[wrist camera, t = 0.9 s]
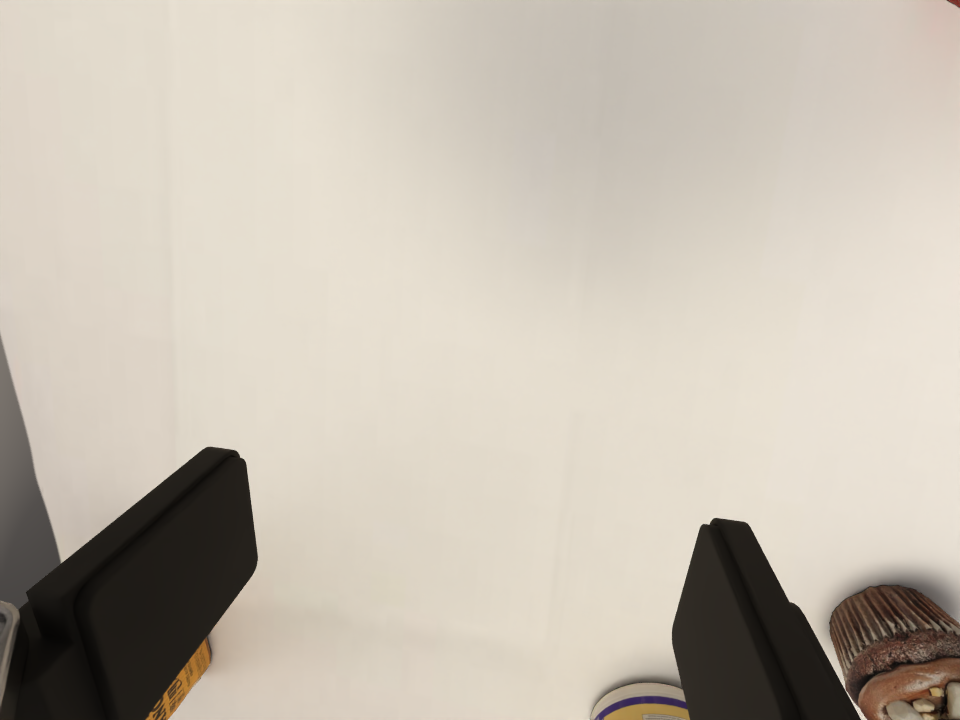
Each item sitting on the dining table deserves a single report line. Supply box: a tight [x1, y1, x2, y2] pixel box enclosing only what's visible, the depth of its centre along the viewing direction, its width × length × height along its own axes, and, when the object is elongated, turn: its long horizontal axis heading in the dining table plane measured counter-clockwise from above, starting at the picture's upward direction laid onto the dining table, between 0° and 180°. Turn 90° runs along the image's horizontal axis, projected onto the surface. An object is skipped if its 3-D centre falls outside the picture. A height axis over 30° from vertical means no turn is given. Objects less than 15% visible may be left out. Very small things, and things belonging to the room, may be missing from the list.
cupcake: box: [829, 585, 960, 720], centre depth 37 cm, size 10×10×10 cm
